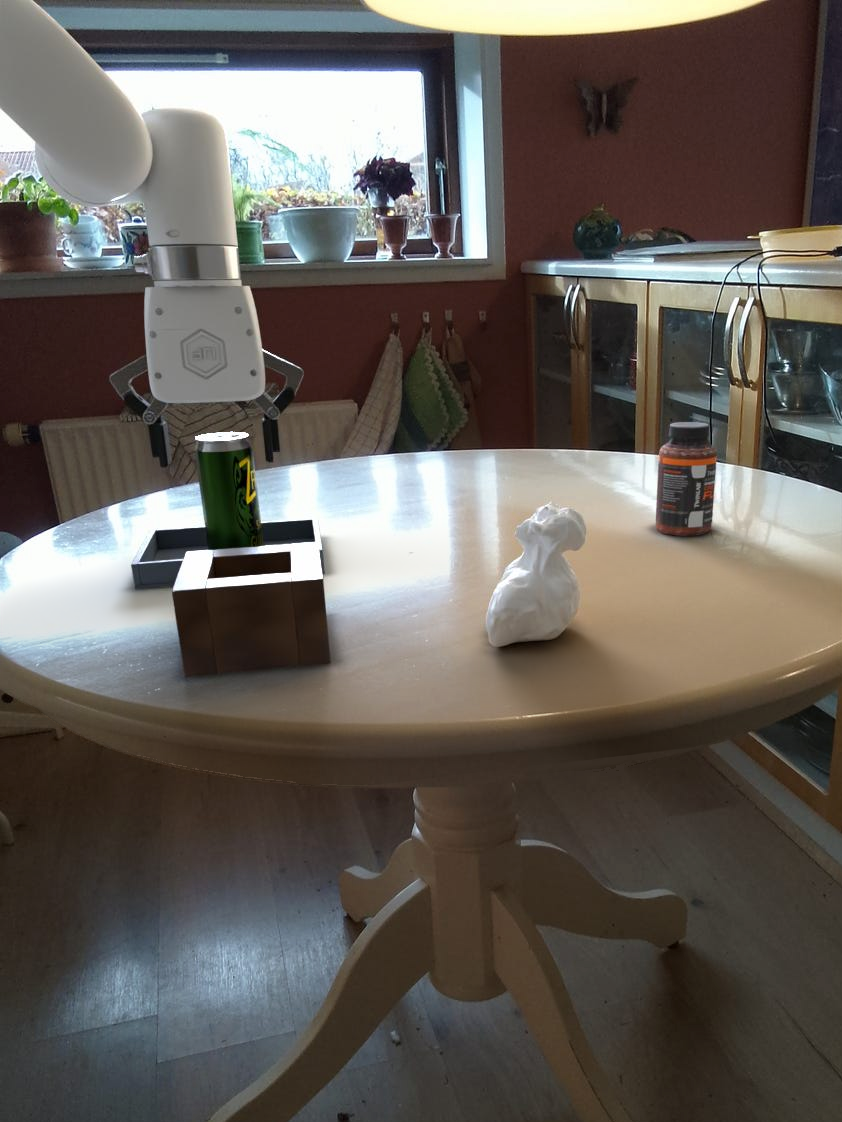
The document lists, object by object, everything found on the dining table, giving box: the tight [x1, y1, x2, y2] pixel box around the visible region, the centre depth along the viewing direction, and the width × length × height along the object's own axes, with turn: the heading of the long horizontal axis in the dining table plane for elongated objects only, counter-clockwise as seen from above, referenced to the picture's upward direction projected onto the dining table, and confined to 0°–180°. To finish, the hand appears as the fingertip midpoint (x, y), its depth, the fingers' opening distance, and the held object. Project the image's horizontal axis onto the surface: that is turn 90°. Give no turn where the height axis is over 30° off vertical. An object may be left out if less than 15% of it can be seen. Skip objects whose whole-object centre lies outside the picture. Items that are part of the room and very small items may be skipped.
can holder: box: [171, 542, 332, 678], centre depth 69 cm, size 10×10×6 cm
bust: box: [485, 501, 587, 648], centre depth 69 cm, size 12×8×11 cm
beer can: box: [194, 431, 264, 550], centre depth 90 cm, size 5×5×12 cm
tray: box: [130, 517, 326, 590], centre depth 91 cm, size 17×13×2 cm
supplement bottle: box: [655, 421, 718, 537], centre depth 97 cm, size 6×6×11 cm
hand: (218, 462), depth 88 cm, fingers open, 9 cm apart
